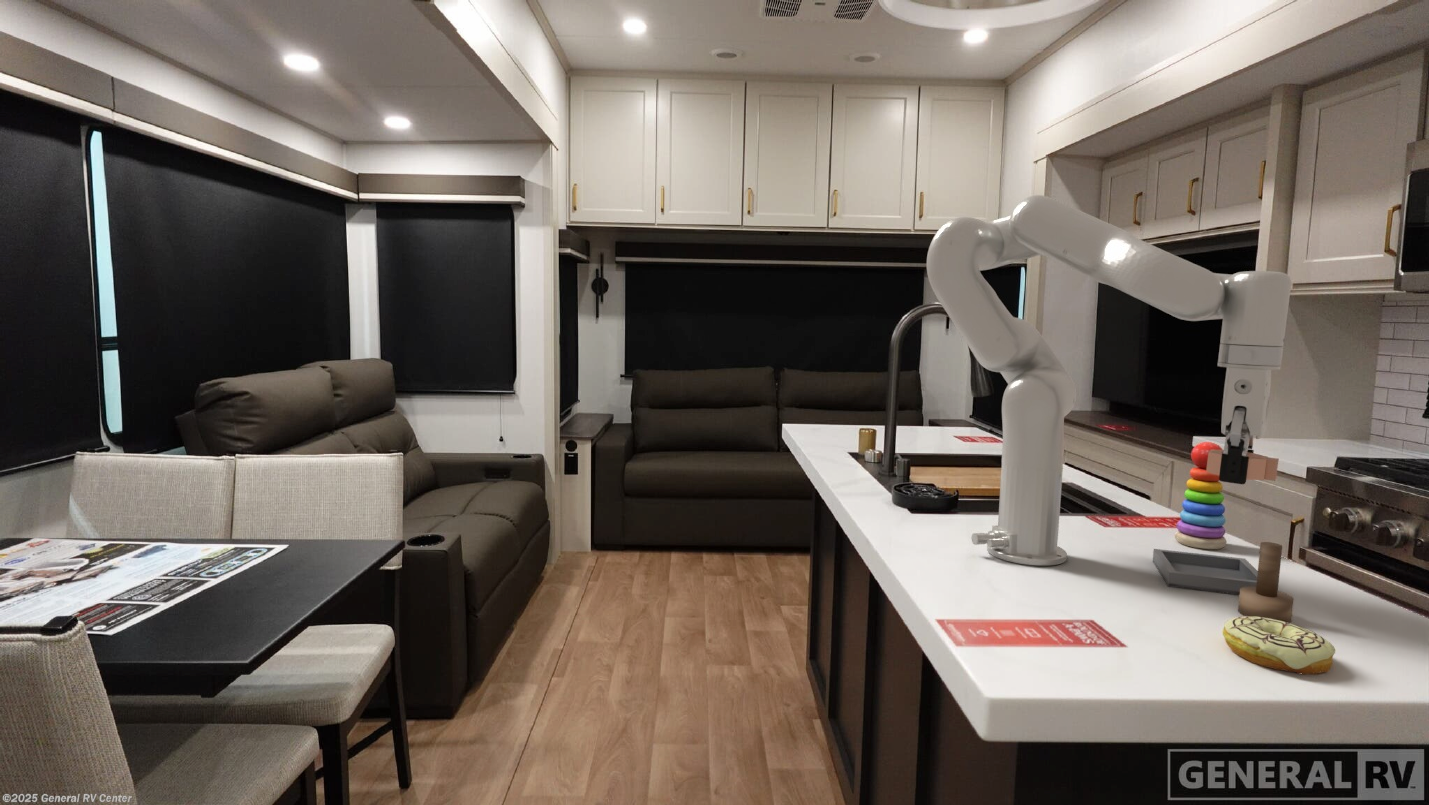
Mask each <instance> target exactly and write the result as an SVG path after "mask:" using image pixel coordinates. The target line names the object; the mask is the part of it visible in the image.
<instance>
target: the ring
mask: <svg viewBox="0 0 1429 805" xmlns="http://www.w3.org/2000/svg"><path fill="white" fill-rule="evenodd" d="M1223 452H1224V449H1222V450H1210V451H1209V453H1208V461H1207V469H1206V472H1209V473H1212V474H1215V475H1219V474H1220V465H1221V457H1222V453H1223ZM1247 457H1249V462H1248V470H1247V478H1246V481H1247V480H1248V481H1249V480H1250V481H1255V480H1256V481H1265V480H1266V481H1272V482H1276V480H1277V474H1278V467H1279V466H1278V465H1279V458H1276V457H1269V456H1266V455H1262V454H1259V453H1254V452H1253V453H1249V452H1247Z"/></svg>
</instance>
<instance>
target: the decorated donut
mask: <svg viewBox="0 0 1429 805" xmlns="http://www.w3.org/2000/svg"><path fill="white" fill-rule="evenodd" d="M1222 636H1223V637H1224V641H1225V643H1226V645H1227V646H1228V648H1230V650H1232V653H1234V654H1235V655H1237V656H1239V657H1242V658H1243V659H1245V660H1246V661H1249V662H1250V663H1251V664H1257V665H1259V666H1261V667H1264V666H1265V667H1264V668H1272V669H1274V670H1277V671H1279V670H1280V671H1281V670H1283V671H1285V672H1289V671H1292V672H1291V673H1296V672H1297V673H1296V674H1299V673H1302V674H1301V675H1307V674H1308V675H1309V674H1310V675H1313V674H1314V675H1315V674H1316V675H1318V674H1320V673H1327V672H1329V671H1330V670H1331V667H1332V665H1333V662H1334V661H1333V657H1334V655H1335V654H1336V648H1335V646H1334V645H1333V644H1332V643H1331V642H1329V641H1328V640H1327V639H1326V638H1324V637H1322V636H1321V635H1319V634H1317V633H1316V632H1314V631H1313V630H1311V629H1309V628H1305V627H1301V626H1299V625H1295V624H1293V623H1291V622H1290V623H1288V622H1284V621H1280V620H1276V619H1271V618H1264V617H1258V616H1244V615H1242V616H1236V617H1233V618H1231V619H1229V620H1227V621H1226V622H1224V626H1223V630H1222Z"/></svg>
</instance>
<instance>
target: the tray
mask: <svg viewBox="0 0 1429 805" xmlns="http://www.w3.org/2000/svg"><path fill="white" fill-rule="evenodd" d="M1152 563H1153V565H1154V566H1155V568H1156V569H1157V571H1158V572H1159V575H1160V576H1161V577H1162V579H1163V580H1164V582H1165V584H1166V585H1167V587H1171V588H1179V589H1187V590H1188V589H1189V590H1194V591H1202V592H1211V593H1219V594H1220V593H1221V594H1228V595H1234V596H1239V594H1240V588H1242V587H1249V586H1252V587H1256V584H1257V574H1258V569H1256V567H1254V566H1253V564H1251V562H1249V561H1248V560H1247V558H1241V557H1233V556H1224V555H1216V554H1215V555H1214V554H1205V553H1196V552H1188V551H1187V552H1186V551H1180V550H1179V551H1176V550H1167V549H1160V548H1159V549H1158V548H1153V551H1152Z"/></svg>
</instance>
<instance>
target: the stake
mask: <svg viewBox="0 0 1429 805" xmlns="http://www.w3.org/2000/svg"><path fill="white" fill-rule="evenodd" d="M1282 553H1283V545H1282V544H1279V543H1276V542H1270V541H1261V542H1260V546H1259V555H1258V564H1257V571H1258V574H1257V584H1256V587H1252V586H1249V587H1242V588H1240V594H1239V595H1238V607H1237V612H1238V613H1240V614H1241V615H1242V616H1258V617H1264V618H1271V619H1276V620H1280V621H1284V622H1288V623H1291V622H1292V620H1293V619H1292V618H1293V609H1294V600H1295V598H1294V597H1293V596H1292V595H1290V594H1288V593H1285V592H1283V591H1280V590H1279V581H1280V572H1281V563H1282Z"/></svg>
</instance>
